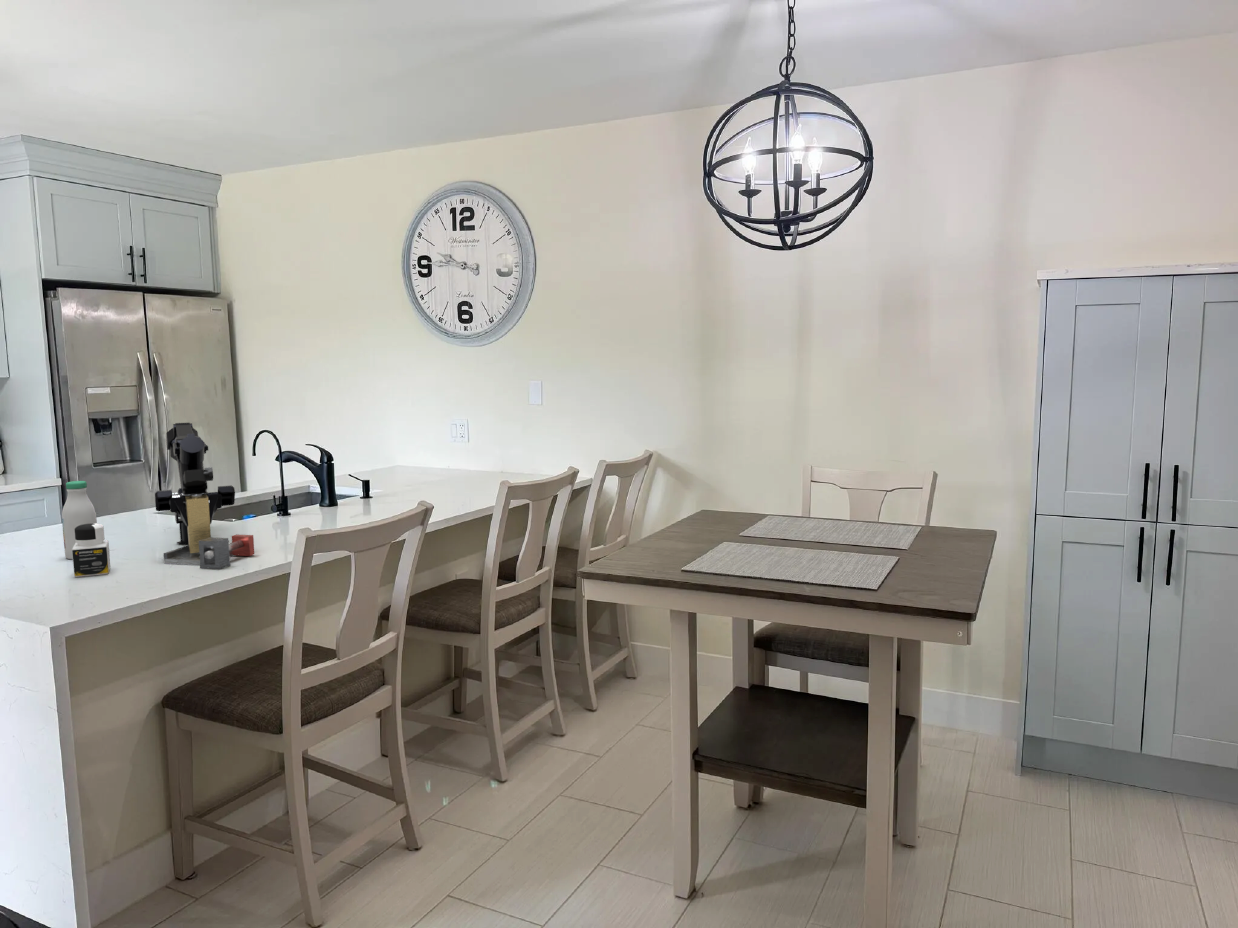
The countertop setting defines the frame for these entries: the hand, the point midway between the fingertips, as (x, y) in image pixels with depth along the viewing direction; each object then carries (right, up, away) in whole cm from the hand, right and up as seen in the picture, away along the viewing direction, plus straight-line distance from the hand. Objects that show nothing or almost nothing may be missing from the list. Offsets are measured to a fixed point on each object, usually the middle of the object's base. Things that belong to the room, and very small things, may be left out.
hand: (198, 524), depth 220 cm
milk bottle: (-34, -9, +6) cm, 35 cm away
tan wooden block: (-1, -7, +2) cm, 7 cm away
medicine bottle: (-21, -11, -11) cm, 26 cm away
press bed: (-1, -9, +2) cm, 10 cm away
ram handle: (+8, -9, -1) cm, 12 cm away
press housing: (+7, -10, -6) cm, 14 cm away
